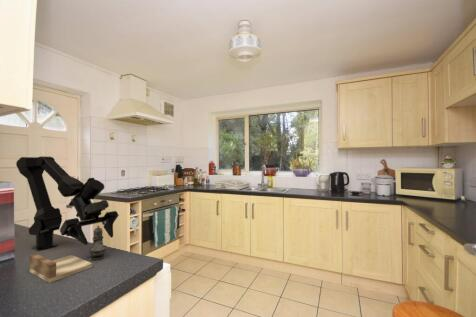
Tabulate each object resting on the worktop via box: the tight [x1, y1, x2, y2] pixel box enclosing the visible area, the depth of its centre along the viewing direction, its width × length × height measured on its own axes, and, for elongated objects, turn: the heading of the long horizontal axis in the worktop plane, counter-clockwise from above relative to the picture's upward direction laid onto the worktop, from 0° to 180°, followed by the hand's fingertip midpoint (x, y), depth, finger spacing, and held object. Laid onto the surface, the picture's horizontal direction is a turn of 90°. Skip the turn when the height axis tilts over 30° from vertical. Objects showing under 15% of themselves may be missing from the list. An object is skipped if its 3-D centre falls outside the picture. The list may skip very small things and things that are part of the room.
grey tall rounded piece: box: [88, 225, 108, 262], centre depth 84 cm, size 6×6×12 cm
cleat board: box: [28, 253, 94, 284], centre depth 75 cm, size 14×12×5 cm
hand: (100, 240), depth 84 cm, fingers open, 9 cm apart
